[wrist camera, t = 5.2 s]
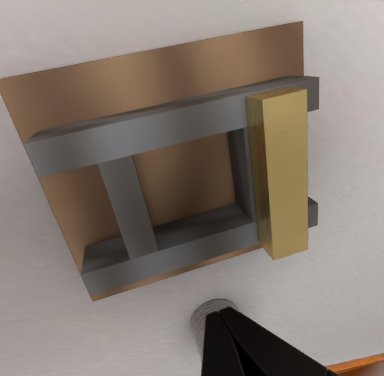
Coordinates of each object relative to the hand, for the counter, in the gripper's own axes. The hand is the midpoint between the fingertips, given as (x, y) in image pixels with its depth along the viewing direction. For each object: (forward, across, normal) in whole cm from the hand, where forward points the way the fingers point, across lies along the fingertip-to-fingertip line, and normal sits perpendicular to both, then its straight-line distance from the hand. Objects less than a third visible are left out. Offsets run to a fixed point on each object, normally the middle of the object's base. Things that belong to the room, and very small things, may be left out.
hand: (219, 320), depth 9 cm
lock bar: (+9, +6, 0) cm, 11 cm away
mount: (+13, +2, 0) cm, 13 cm away
